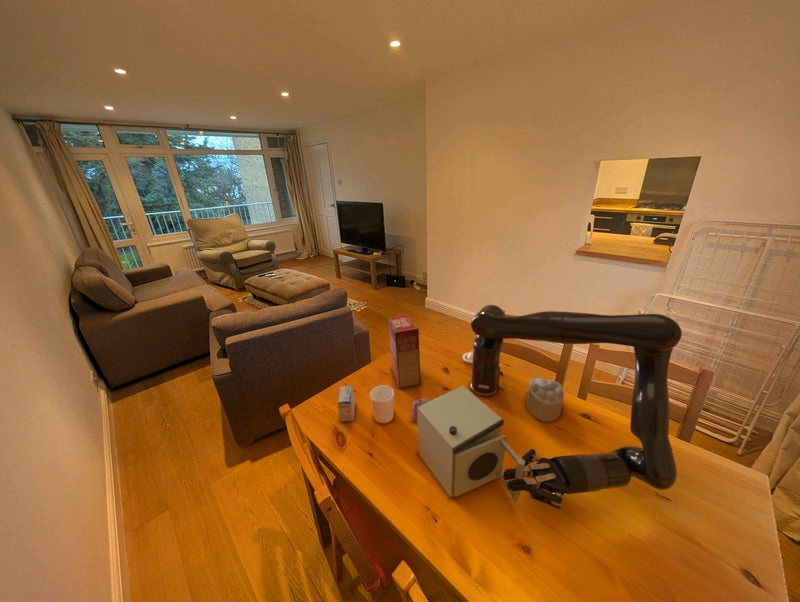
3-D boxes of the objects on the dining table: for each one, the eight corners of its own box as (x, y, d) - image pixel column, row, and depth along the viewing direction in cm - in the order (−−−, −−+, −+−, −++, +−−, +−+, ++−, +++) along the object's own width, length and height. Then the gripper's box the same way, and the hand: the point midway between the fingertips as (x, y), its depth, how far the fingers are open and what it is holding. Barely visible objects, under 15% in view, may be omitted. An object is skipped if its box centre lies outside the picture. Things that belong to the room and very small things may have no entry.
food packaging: (391, 368, 124) (387, 316, 114) (412, 364, 126) (410, 312, 116) (398, 389, 112) (394, 332, 102) (422, 384, 114) (420, 328, 104)
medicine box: (343, 405, 106) (339, 386, 102) (355, 404, 106) (352, 385, 102) (340, 422, 99) (337, 402, 95) (354, 421, 99) (351, 401, 95)
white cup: (398, 410, 102) (397, 387, 98) (390, 427, 96) (389, 403, 91) (378, 405, 105) (375, 383, 101) (369, 422, 98) (366, 398, 94)
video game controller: (441, 418, 100) (440, 398, 100) (441, 423, 95) (441, 402, 96) (412, 417, 101) (412, 397, 101) (411, 422, 96) (411, 401, 97)
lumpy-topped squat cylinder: (559, 398, 103) (563, 378, 100) (561, 425, 93) (566, 404, 89) (527, 391, 108) (530, 372, 104) (525, 416, 97) (529, 396, 93)
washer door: (499, 473, 78) (504, 434, 72) (521, 503, 71) (529, 461, 65) (453, 494, 74) (455, 454, 68) (472, 527, 66) (475, 486, 61)
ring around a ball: (465, 367, 122) (484, 366, 122) (466, 356, 120) (485, 354, 120) (460, 357, 129) (478, 355, 130) (460, 346, 127) (478, 344, 128)
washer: (460, 430, 93) (463, 382, 85) (497, 468, 81) (504, 417, 73) (418, 453, 86) (416, 404, 78) (452, 499, 74) (454, 446, 66)
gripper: (595, 514, 63) (516, 522, 63) (559, 458, 76) (493, 464, 75) (603, 492, 60) (520, 500, 60) (564, 437, 73) (496, 443, 72)
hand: (506, 480), depth 67 cm, fingers closed on washer door
